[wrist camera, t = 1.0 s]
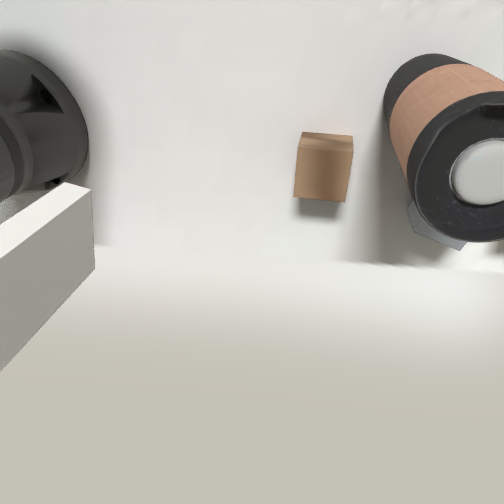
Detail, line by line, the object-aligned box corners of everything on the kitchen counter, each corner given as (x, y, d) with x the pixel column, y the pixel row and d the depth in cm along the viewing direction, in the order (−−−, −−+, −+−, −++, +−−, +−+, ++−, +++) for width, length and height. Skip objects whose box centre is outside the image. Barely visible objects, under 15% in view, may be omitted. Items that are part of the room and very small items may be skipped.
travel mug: (449, 144, 37) (531, 258, 21) (369, 129, 38) (390, 229, 22) (485, 57, 33) (626, 116, 17) (395, 42, 34) (446, 85, 17)
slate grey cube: (406, 208, 42) (413, 231, 38) (433, 168, 39) (444, 188, 35) (448, 226, 42) (459, 250, 38) (478, 187, 39) (494, 209, 35)
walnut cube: (298, 177, 42) (293, 196, 38) (302, 131, 40) (297, 147, 35) (344, 182, 42) (344, 202, 38) (352, 135, 39) (353, 152, 35)
